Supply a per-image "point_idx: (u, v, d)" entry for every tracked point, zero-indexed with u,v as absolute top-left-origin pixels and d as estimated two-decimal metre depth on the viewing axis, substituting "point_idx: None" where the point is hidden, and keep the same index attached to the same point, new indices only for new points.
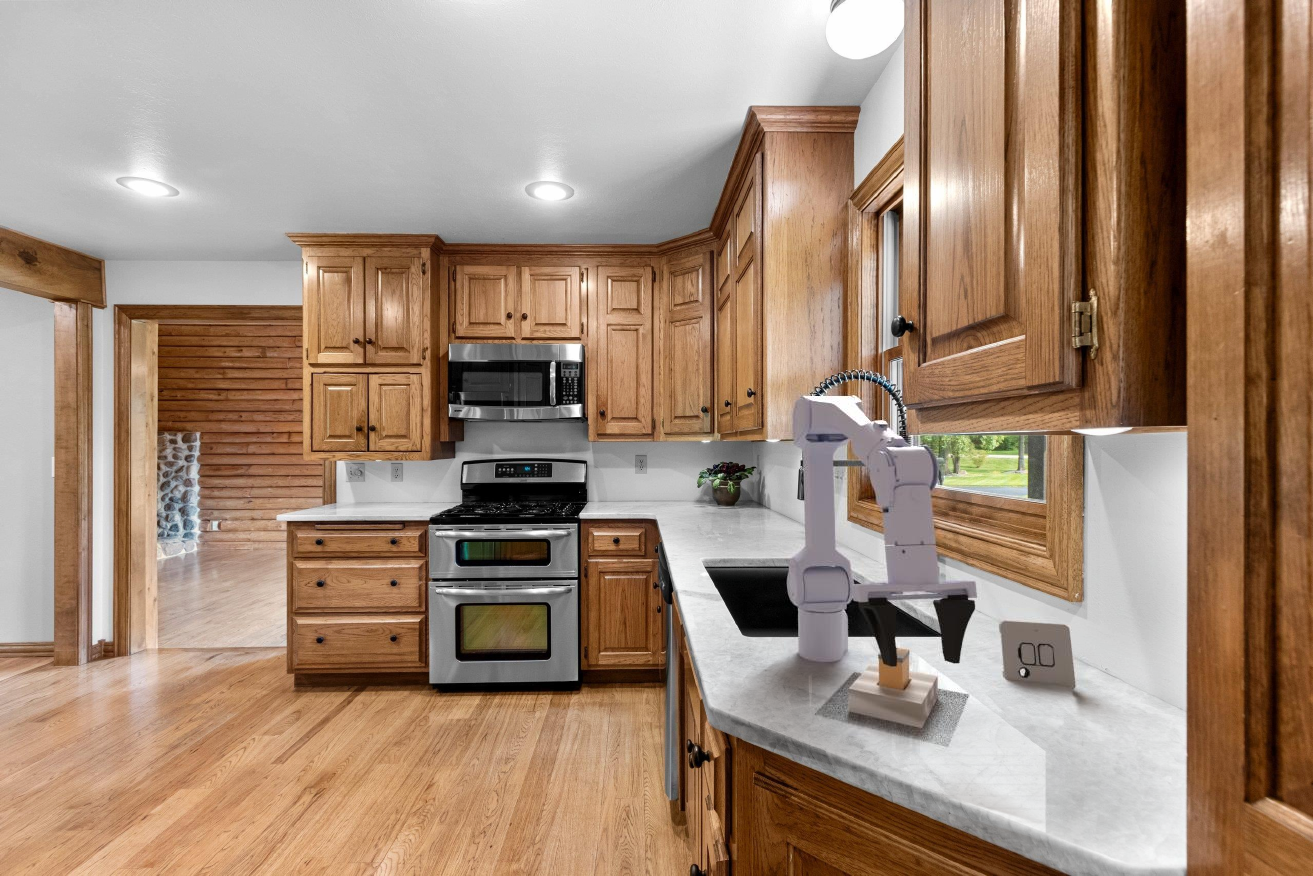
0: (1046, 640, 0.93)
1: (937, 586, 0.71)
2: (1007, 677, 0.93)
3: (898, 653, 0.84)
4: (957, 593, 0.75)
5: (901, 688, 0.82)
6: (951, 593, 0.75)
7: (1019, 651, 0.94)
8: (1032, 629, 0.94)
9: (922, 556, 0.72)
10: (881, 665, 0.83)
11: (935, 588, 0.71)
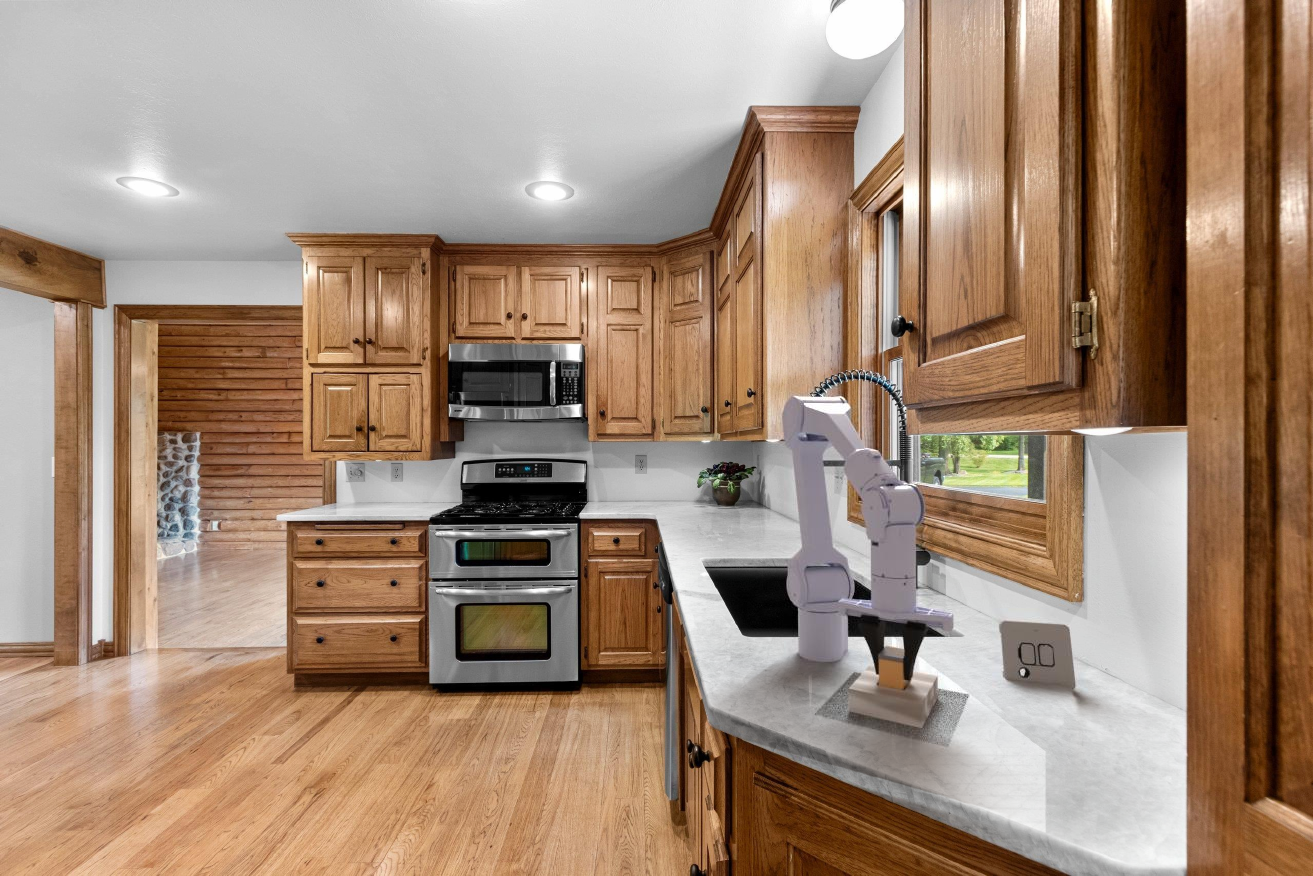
0: (1046, 640, 0.93)
1: (891, 616, 0.81)
2: (1007, 677, 0.93)
3: (898, 653, 0.84)
4: (934, 623, 0.81)
5: (901, 688, 0.82)
6: (928, 622, 0.82)
7: (1019, 651, 0.94)
8: (1032, 629, 0.94)
9: (887, 588, 0.82)
10: (881, 665, 0.83)
11: (889, 617, 0.81)
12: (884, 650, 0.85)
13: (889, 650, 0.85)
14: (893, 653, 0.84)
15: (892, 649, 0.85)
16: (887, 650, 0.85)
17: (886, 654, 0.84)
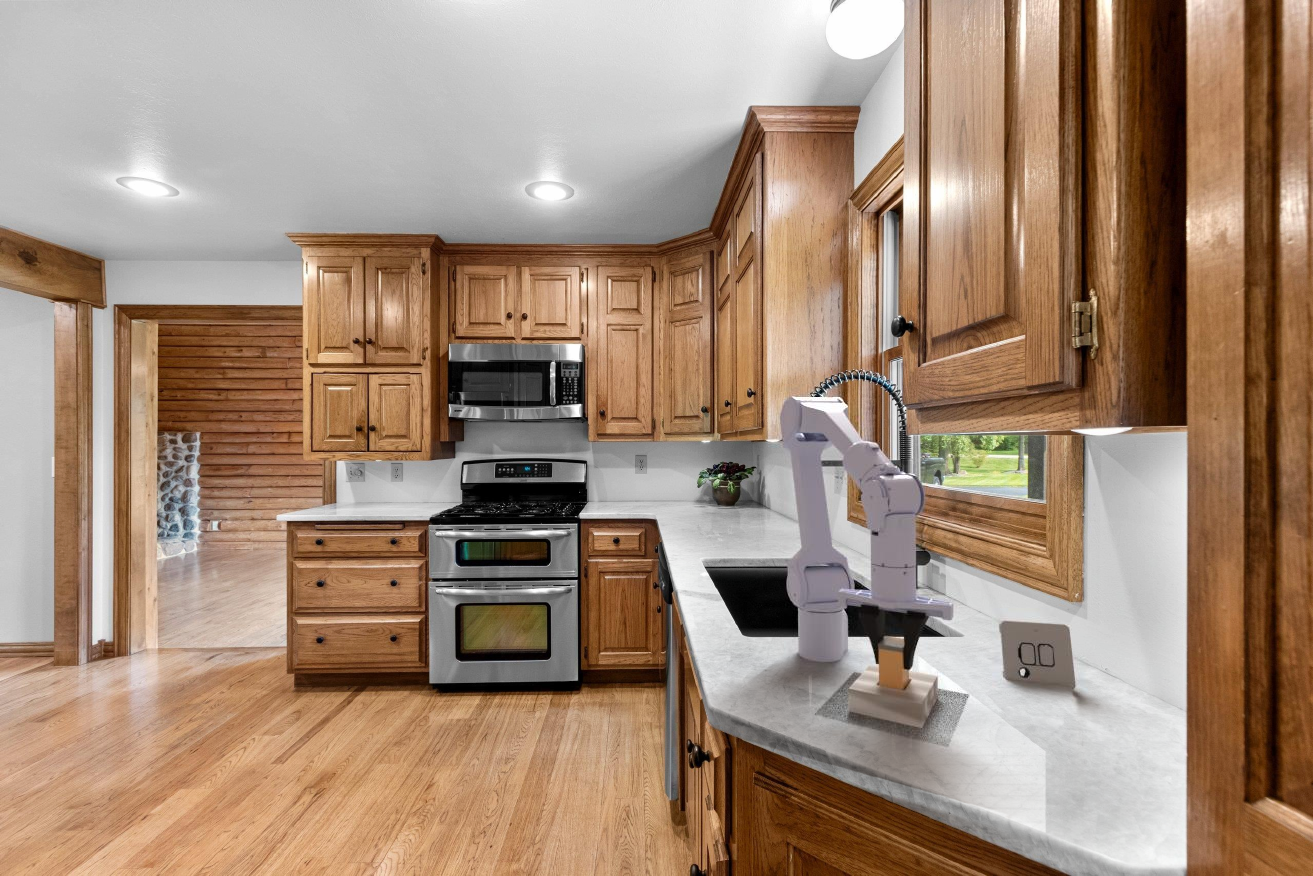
0: (1046, 640, 0.93)
1: (891, 605, 0.81)
2: (1007, 677, 0.93)
3: (898, 643, 0.84)
4: (934, 613, 0.81)
5: (901, 678, 0.82)
6: (928, 612, 0.82)
7: (1019, 651, 0.94)
8: (1031, 629, 0.94)
9: (887, 577, 0.82)
10: (881, 655, 0.84)
11: (889, 606, 0.81)
12: (884, 640, 0.85)
13: (889, 640, 0.85)
14: (893, 642, 0.84)
15: (892, 639, 0.85)
16: (886, 640, 0.85)
17: (886, 644, 0.84)
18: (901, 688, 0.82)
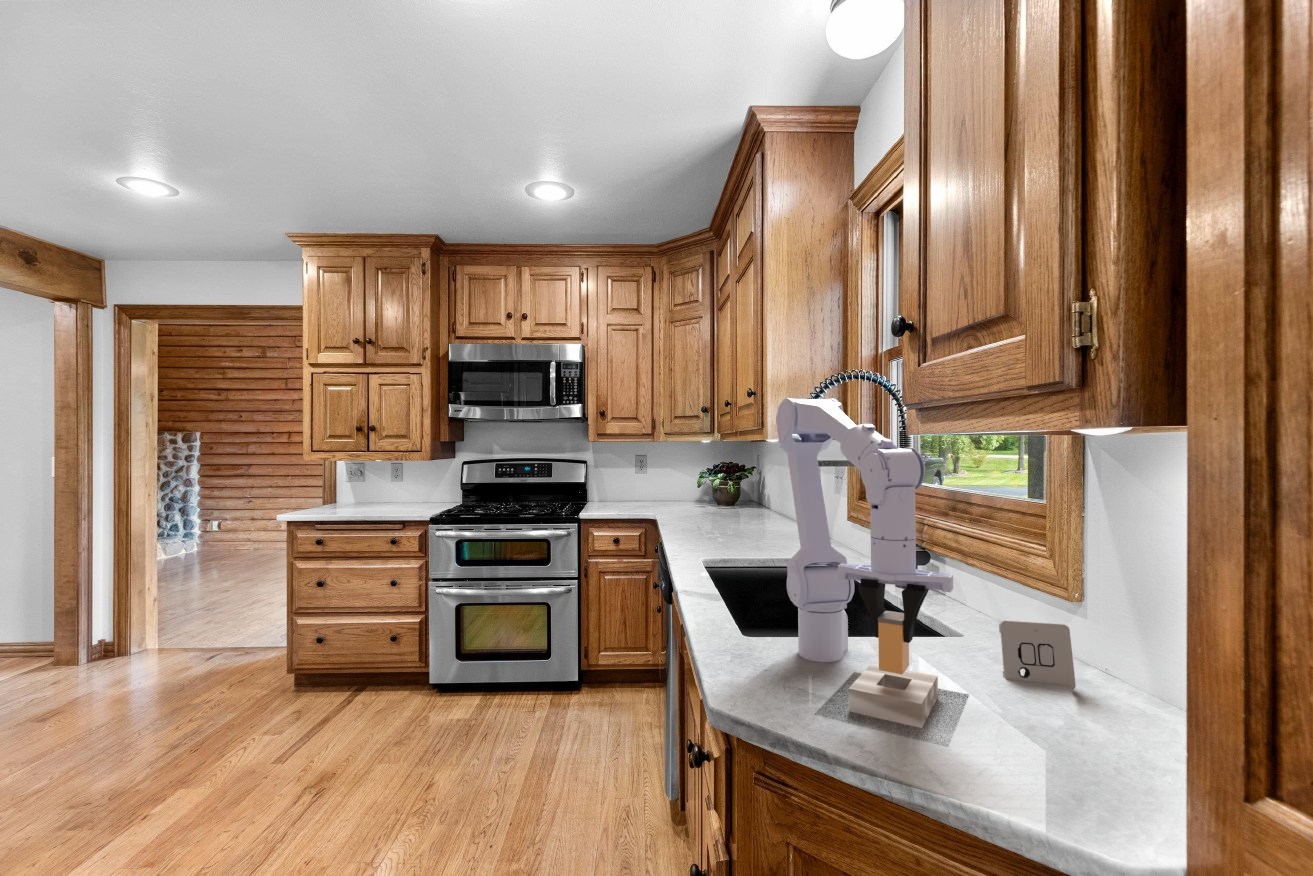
0: (1046, 640, 0.93)
1: (891, 577, 0.81)
2: (1007, 677, 0.93)
3: (898, 616, 0.84)
4: (934, 585, 0.81)
5: (901, 651, 0.82)
6: (928, 584, 0.82)
7: (1019, 651, 0.94)
8: (1031, 629, 0.94)
9: (887, 550, 0.82)
10: (881, 628, 0.84)
11: (889, 579, 0.81)
12: (884, 614, 0.85)
13: (889, 614, 0.85)
14: (893, 616, 0.84)
15: (892, 613, 0.86)
16: (886, 614, 0.85)
17: (886, 617, 0.84)
18: (901, 661, 0.82)
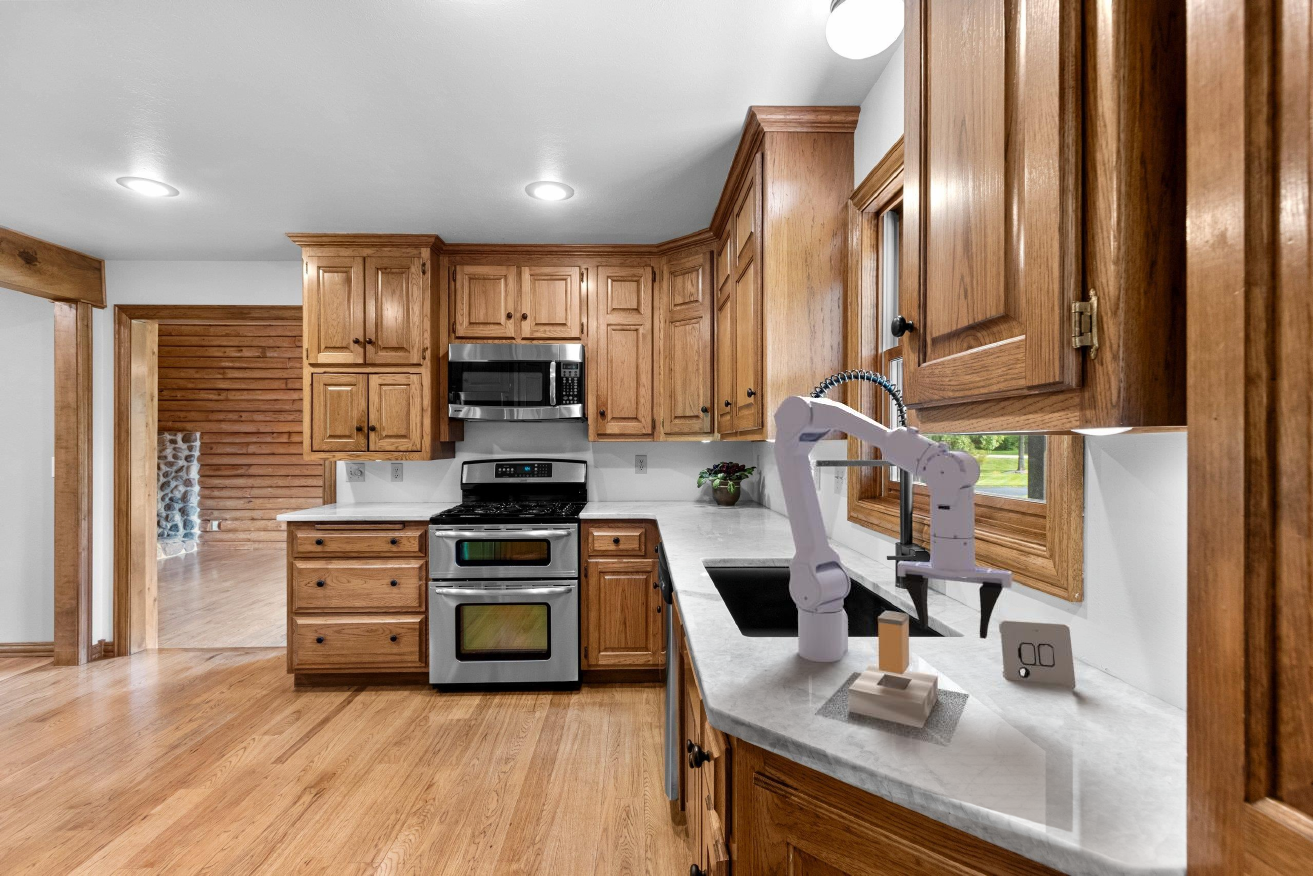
0: (1046, 640, 0.93)
1: (953, 574, 0.85)
2: (1007, 677, 0.93)
3: (898, 616, 0.84)
4: (994, 581, 0.86)
5: (901, 651, 0.82)
6: (987, 580, 0.86)
7: (1019, 651, 0.94)
8: (1032, 629, 0.94)
9: (948, 548, 0.86)
10: (881, 628, 0.84)
11: (951, 575, 0.85)
12: (884, 614, 0.85)
13: (889, 614, 0.85)
14: (893, 616, 0.84)
15: (892, 613, 0.86)
16: (886, 614, 0.85)
17: (886, 617, 0.84)
18: (901, 661, 0.82)
